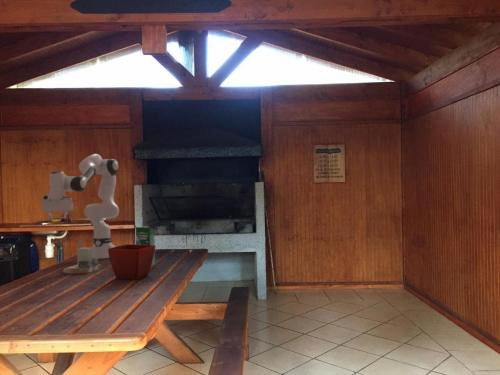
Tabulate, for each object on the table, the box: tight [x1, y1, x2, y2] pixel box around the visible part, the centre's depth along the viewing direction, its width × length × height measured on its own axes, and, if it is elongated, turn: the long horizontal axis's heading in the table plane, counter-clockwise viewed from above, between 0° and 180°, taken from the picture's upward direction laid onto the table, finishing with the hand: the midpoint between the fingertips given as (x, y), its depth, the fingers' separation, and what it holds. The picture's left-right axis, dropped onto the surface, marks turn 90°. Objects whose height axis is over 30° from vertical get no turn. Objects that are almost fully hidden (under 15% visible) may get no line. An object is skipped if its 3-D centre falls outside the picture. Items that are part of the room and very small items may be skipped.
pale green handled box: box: [76, 240, 93, 267], centre depth 250 cm, size 5×7×15 cm
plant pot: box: [108, 244, 156, 281], centre depth 229 cm, size 19×19×17 cm
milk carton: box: [135, 225, 156, 267], centre depth 264 cm, size 9×9×25 cm
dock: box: [63, 258, 102, 274], centre depth 250 cm, size 16×15×6 cm
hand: (57, 218), depth 260 cm, fingers open, 8 cm apart
